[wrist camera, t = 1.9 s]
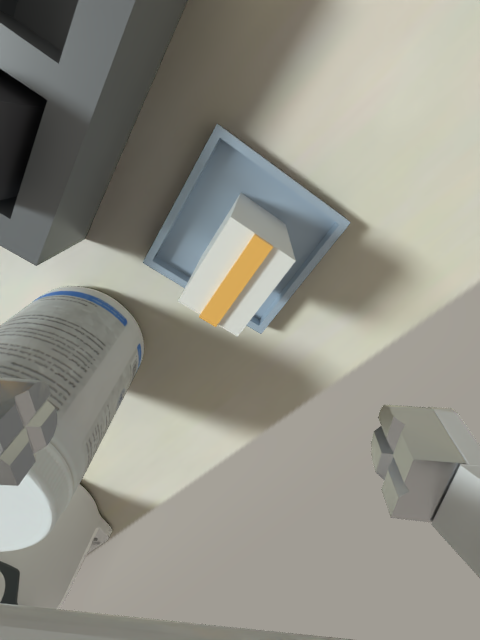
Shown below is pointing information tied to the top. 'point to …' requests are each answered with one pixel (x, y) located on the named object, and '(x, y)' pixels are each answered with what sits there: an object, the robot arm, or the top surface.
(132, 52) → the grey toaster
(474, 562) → the robot arm
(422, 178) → the top surface
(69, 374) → the supplement tub
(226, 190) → the slate tray
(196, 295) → the white orange-striped block
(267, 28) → the top surface
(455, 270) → the top surface
